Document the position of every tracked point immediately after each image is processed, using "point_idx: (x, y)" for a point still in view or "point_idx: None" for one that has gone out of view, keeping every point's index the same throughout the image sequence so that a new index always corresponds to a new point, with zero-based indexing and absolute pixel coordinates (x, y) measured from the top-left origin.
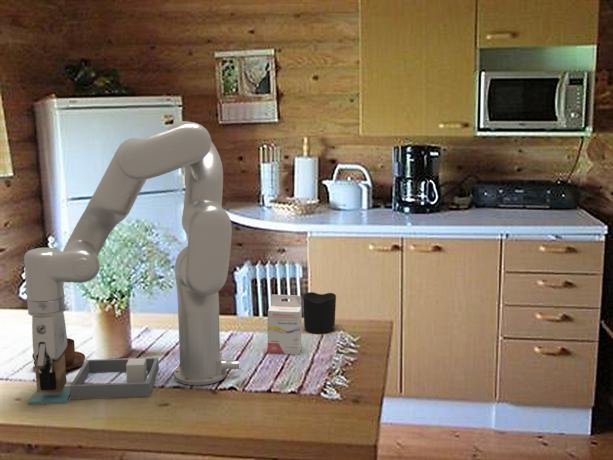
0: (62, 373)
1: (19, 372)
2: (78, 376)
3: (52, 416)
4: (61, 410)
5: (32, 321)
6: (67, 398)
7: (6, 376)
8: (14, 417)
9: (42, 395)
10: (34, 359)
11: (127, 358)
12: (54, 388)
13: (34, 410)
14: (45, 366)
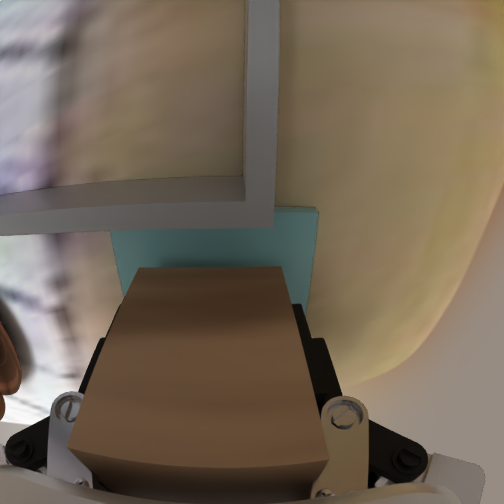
0: (207, 333)
1: (44, 406)
2: (89, 213)
3: (435, 237)
4: (392, 212)
5: None
6: (292, 212)
7: None
8: (392, 354)
9: None
10: (4, 404)
11: None
12: (299, 310)
13: (359, 319)
14: (431, 464)
